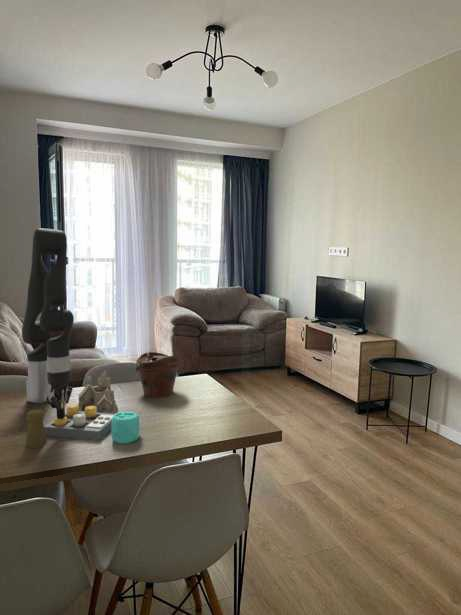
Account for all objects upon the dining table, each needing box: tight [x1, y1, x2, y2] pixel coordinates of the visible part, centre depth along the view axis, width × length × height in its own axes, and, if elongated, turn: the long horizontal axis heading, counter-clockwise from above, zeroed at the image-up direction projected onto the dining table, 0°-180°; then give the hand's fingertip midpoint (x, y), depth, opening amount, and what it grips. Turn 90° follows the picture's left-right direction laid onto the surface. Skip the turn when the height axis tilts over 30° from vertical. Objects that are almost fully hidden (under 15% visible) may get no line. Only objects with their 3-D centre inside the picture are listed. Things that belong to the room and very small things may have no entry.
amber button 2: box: [66, 404, 79, 416], centre depth 161 cm, size 4×4×3 cm
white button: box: [73, 414, 86, 426], centre depth 152 cm, size 4×4×3 cm
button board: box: [43, 411, 116, 441], centre depth 157 cm, size 20×16×4 cm
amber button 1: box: [53, 416, 67, 427], centre depth 154 cm, size 4×4×3 cm
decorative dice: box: [110, 410, 140, 444], centre depth 149 cm, size 8×8×8 cm
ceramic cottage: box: [77, 370, 119, 414], centre depth 173 cm, size 16×16×15 cm
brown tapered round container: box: [134, 351, 181, 398], centre depth 197 cm, size 18×20×18 cm
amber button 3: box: [85, 406, 97, 418], centre depth 160 cm, size 4×4×3 cm
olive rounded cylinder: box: [25, 409, 47, 449], centre depth 144 cm, size 6×6×11 cm
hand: (60, 418), depth 154 cm, fingers closed
